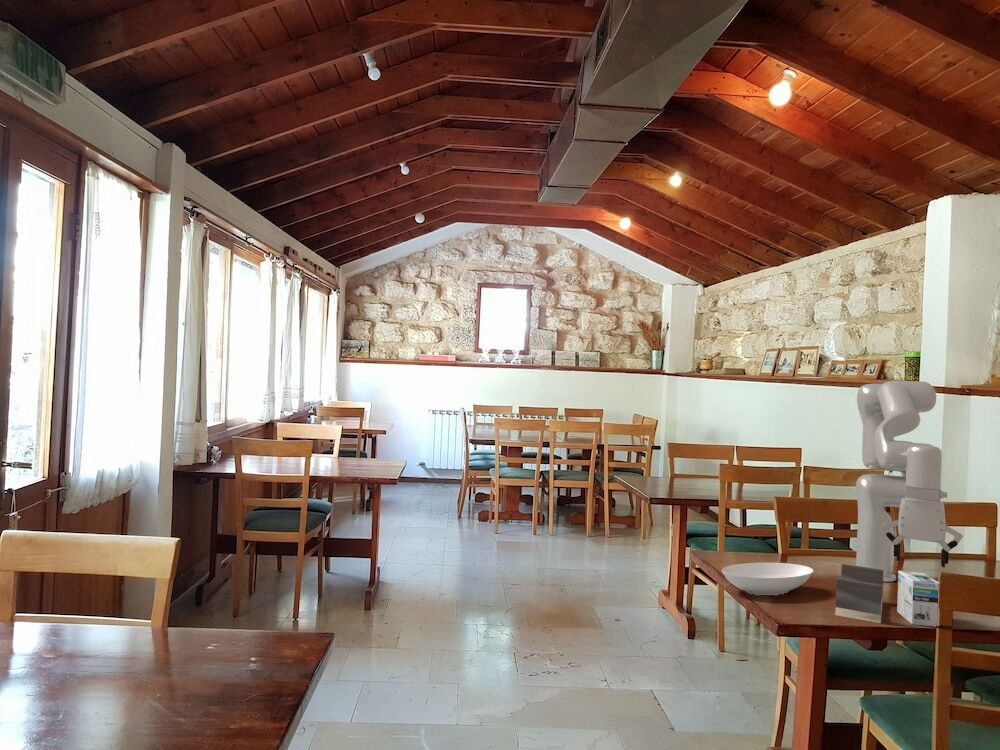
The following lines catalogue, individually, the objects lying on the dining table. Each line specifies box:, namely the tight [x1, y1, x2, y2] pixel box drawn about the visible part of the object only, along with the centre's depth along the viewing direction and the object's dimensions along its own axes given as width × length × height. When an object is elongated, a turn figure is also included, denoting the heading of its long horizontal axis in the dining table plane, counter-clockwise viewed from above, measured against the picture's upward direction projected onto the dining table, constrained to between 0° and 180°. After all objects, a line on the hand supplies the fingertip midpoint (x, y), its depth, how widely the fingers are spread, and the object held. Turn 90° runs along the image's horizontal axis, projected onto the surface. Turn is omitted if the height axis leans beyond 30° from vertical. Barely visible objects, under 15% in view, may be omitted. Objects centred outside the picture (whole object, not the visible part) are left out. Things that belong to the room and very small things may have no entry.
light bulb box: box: [896, 570, 940, 628], centre depth 175 cm, size 11×7×11 cm, turn 168°
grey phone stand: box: [834, 563, 884, 624], centre depth 181 cm, size 20×10×9 cm, turn 150°
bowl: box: [721, 562, 814, 596], centre depth 194 cm, size 30×15×6 cm, turn 114°
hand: (920, 563), depth 175 cm, fingers open, 9 cm apart
